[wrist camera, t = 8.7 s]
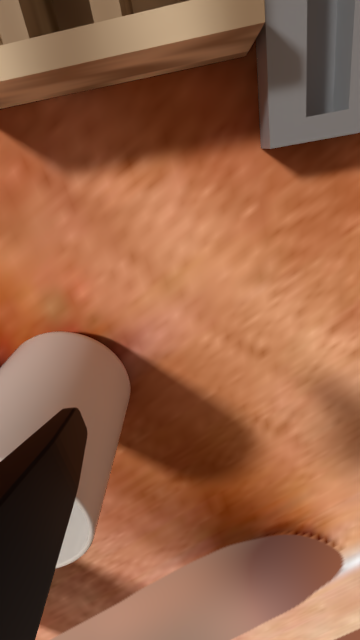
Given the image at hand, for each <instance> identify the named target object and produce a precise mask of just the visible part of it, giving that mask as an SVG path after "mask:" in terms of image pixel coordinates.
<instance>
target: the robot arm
mask: <svg viewBox="0 0 360 640" xmlns="http://www.w3.org/2000/svg"><path fill="white" fill-rule="evenodd" d="M87 434H88V433H87V427H86V425H85V422H84V420H83V417H82V415H81V412H80V410H79V409H78V408H76V407H71V408H64V409H62V410H60V411H59V412H58V413H57V414H56V415H55V416H53V417H52V418H51V419H50V420H49V421H47V422H46V423H45V424H44V425H43V426H42V427H40V428H39V429H38V430H37V431H36V432H35V433H33V434H32V435H31V436H30V437H29V438H28V439H26V440H25V441H24V442H23V443H22V444H21V445H19V446H18V447H17V448H16V449H15V450H14V451H12V452H11V453H10V454H9V455H8V456H7V457H5V458H4V459H3V460H2V461H1V462H0V640H35V638H36V634H37V631H38V627H39V624H40V620H41V617H42V613H43V610H44V606H45V603H46V599H47V596H48V593H49V589H50V586H51V582H52V579H53V575H54V572H55V568H56V565H57V561H58V558H59V554H60V551H61V547H62V544H63V540H64V537H65V533H66V530H67V526H68V523H69V519H70V516H71V512H72V509H73V505H74V502H75V498H76V494H77V491H78V486H79V481H80V476H81V470H82V464H83V459H84V453H85V447H86V442H87Z"/></svg>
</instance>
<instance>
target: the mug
mask: <svg viewBox="0 0 360 640" xmlns="http://www.w3.org/2000/svg"><path fill="white" fill-rule="evenodd" d="M130 392H131V389H130V380H129V377H128V374H127V371H126V369H125V367H124V365H123V364H122V362H121V361H120V359H119V358H118V357H117V356H116V355H115V354H114V353H113V352H112V351H111V350H110V349H109V348H108V347H106V346H105V345H103V344H102V343H100V342H99V341H97V340H95V339H93V338H90V337H88V336H85V335H82V334H78V333H74V332H64V331H57V332H48V333H44V334H40V335H37V336H35V337H32V338H30V339H29V340H27V341H25V342H24V343H23V344H21V345H20V346H19V347H18V348H17V349H16V350H15V351H14V352H13V353H12V355H11V356H10V357H9V358H8V359H7V360H6V361H5V363H4V364H3V365H2V366H1V367H0V462H1V461H2V460H3V459H4V458H5V457H7V456H8V455H9V454H10V453H11V452H12V451H14V450H15V449H16V448H17V447H18V446H19V445H21V444H22V443H23V442H24V441H25V440H26V439H28V438H29V437H30V436H31V435H32V434H33V433H35V432H36V431H37V430H38V429H39V428H40V427H42V426H43V425H44V424H45V423H46V422H47V421H49V420H50V419H51V418H52V417H53V416H55V415H56V414H57V413H58V412H59V411H60V410H62V409H64V408H71V407H76V408H78V409H79V410H80V412H81V415H82V417H83V420H84V422H85V425H86V427H87V433H88V434H87V442H86V447H85V453H84V459H83V464H82V470H81V476H80V481H79V486H78V491H77V494H76V498H75V502H74V505H73V509H72V512H71V516H70V519H69V523H68V526H67V530H66V533H65V537H64V540H63V544H62V547H61V551H60V554H59V558H58V561H57V565H56V568H60V567H63V566H65V565H68V564H70V563H72V562H74V561H76V560H77V559H79V558H80V557H81V556H82V555H83V554H85V552H86V551H87V550H88V549H89V547H90V546H91V544H92V541H93V539H94V535H95V531H96V527H97V524H98V520H99V516H100V512H101V508H102V504H103V500H104V497H105V493H106V489H107V485H108V481H109V477H110V473H111V470H112V466H113V462H114V458H115V454H116V450H117V446H118V443H119V439H120V435H121V431H122V427H123V423H124V419H125V416H126V412H127V408H128V404H129V400H130ZM56 568H55V569H56Z"/></svg>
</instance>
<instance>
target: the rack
mask: <svg viewBox="0 0 360 640" xmlns="http://www.w3.org/2000/svg"><path fill="white" fill-rule="evenodd" d="M264 23H265V2H264V0H0V109H2V108H7V107H12V106H16V105H21V104H26V103H30V102H35V101H40V100H44V99H49V98H54V97H58V96H63V95H68V94H72V93H77V92H82V91H86V90H91V89H96V88H100V87H105V86H110V85H114V84H119V83H124V82H128V81H133V80H138V79H143V78H147V77H152V76H157V75H161V74H166V73H171V72H175V71H180V70H185V69H189V68H194V67H199V66H203V65H208V64H213V63H217V62H222V61H227V60H231V59H236V58H241V57H245V56H246V55H247V53H248V52H249V50H250V48H251V46H252V45H253V43H254V41H255V39H256V37H257V36H258V34H259V32H260V30H261V29H262V27H263V25H264Z"/></svg>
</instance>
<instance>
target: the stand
mask: <svg viewBox="0 0 360 640" xmlns="http://www.w3.org/2000/svg"><path fill="white" fill-rule="evenodd" d="M264 2H265V23H264V25H263V27H262V29H261V30H260V32H259V34H258V36H257V37H256V56H257V77H258V99H259V120H260V142H261V148H264V149H272V148H278V147H283V146H289V145H294V144H300V143H306V142H311V141H317V140H322V139H328V138H333V137H339V136H344V135H350V134H355V133H360V0H264Z"/></svg>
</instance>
